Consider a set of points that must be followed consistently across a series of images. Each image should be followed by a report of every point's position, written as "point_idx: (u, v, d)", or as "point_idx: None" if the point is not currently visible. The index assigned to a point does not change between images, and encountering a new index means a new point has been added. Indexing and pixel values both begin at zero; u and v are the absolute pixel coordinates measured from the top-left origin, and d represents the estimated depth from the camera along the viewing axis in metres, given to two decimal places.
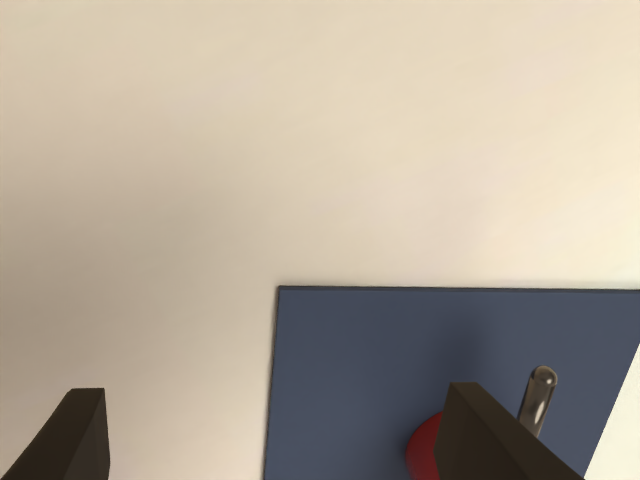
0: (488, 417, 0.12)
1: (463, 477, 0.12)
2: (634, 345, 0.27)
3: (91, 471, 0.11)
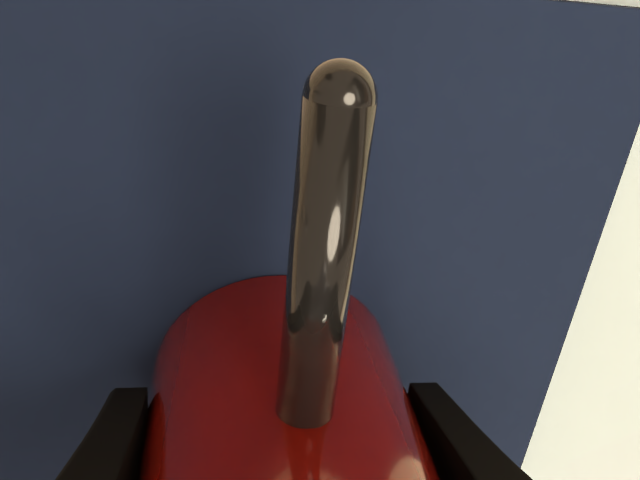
0: (443, 418, 0.11)
1: None
2: (621, 148, 0.13)
3: None
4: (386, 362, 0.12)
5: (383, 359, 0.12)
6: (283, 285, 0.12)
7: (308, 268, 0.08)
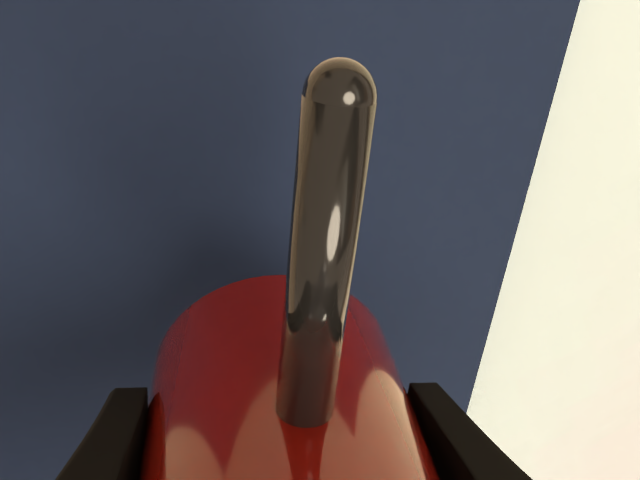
0: (443, 418, 0.11)
1: None
2: (544, 100, 0.16)
3: (137, 468, 0.11)
4: (386, 361, 0.12)
5: (383, 358, 0.12)
6: (283, 284, 0.12)
7: (308, 267, 0.08)
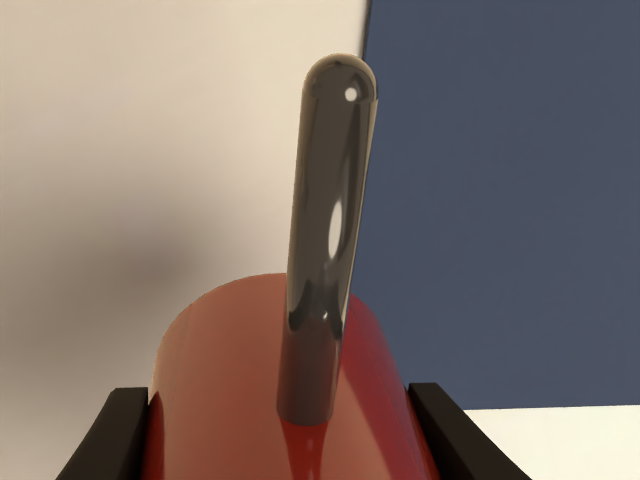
0: (443, 418, 0.11)
1: None
2: None
3: None
4: (387, 360, 0.12)
5: (383, 357, 0.12)
6: (283, 283, 0.12)
7: (309, 264, 0.08)
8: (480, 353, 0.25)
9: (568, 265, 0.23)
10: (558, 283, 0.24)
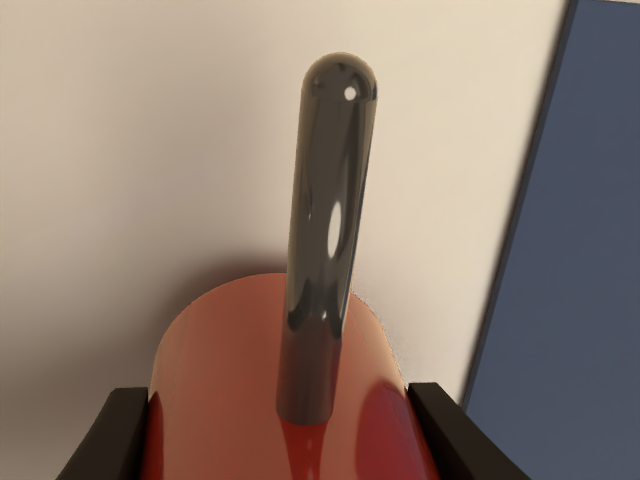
0: (443, 418, 0.11)
1: None
2: None
3: None
4: (386, 359, 0.12)
5: (383, 356, 0.12)
6: (283, 282, 0.12)
7: (308, 264, 0.08)
8: None
9: None
10: None
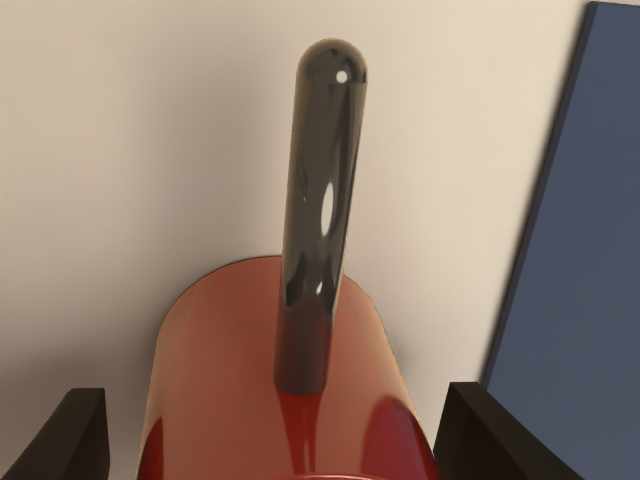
0: (488, 417, 0.12)
1: (463, 478, 0.12)
2: None
3: (91, 470, 0.11)
4: (379, 339, 0.12)
5: (377, 336, 0.12)
6: (280, 265, 0.13)
7: (303, 239, 0.08)
8: None
9: None
10: None
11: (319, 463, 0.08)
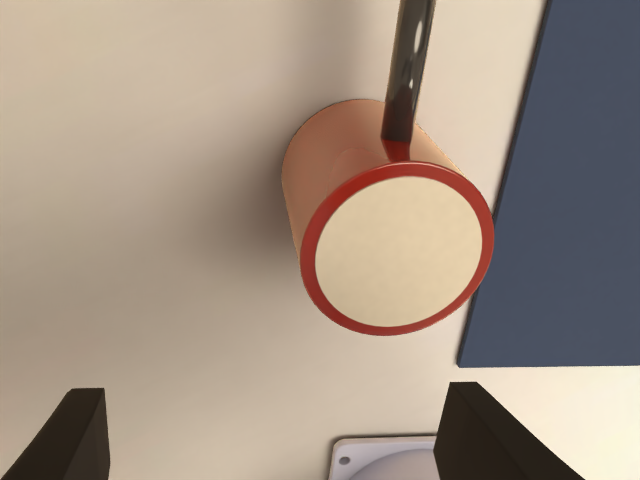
0: (488, 417, 0.12)
1: (463, 477, 0.12)
2: None
3: (90, 470, 0.11)
4: None
5: None
6: (369, 102, 0.20)
7: (407, 38, 0.15)
8: (612, 309, 0.26)
9: None
10: None
11: (416, 158, 0.15)
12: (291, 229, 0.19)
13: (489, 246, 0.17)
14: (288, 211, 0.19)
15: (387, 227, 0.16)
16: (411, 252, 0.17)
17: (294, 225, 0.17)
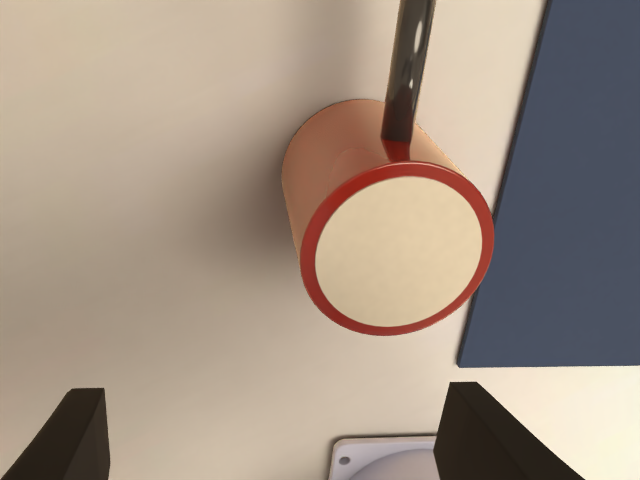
0: (488, 417, 0.12)
1: (463, 477, 0.12)
2: None
3: (90, 470, 0.11)
4: None
5: None
6: (369, 102, 0.20)
7: (407, 38, 0.15)
8: (612, 309, 0.26)
9: None
10: None
11: (416, 158, 0.15)
12: (291, 229, 0.19)
13: (489, 246, 0.17)
14: (288, 211, 0.19)
15: (387, 227, 0.16)
16: (411, 252, 0.17)
17: (294, 225, 0.17)
